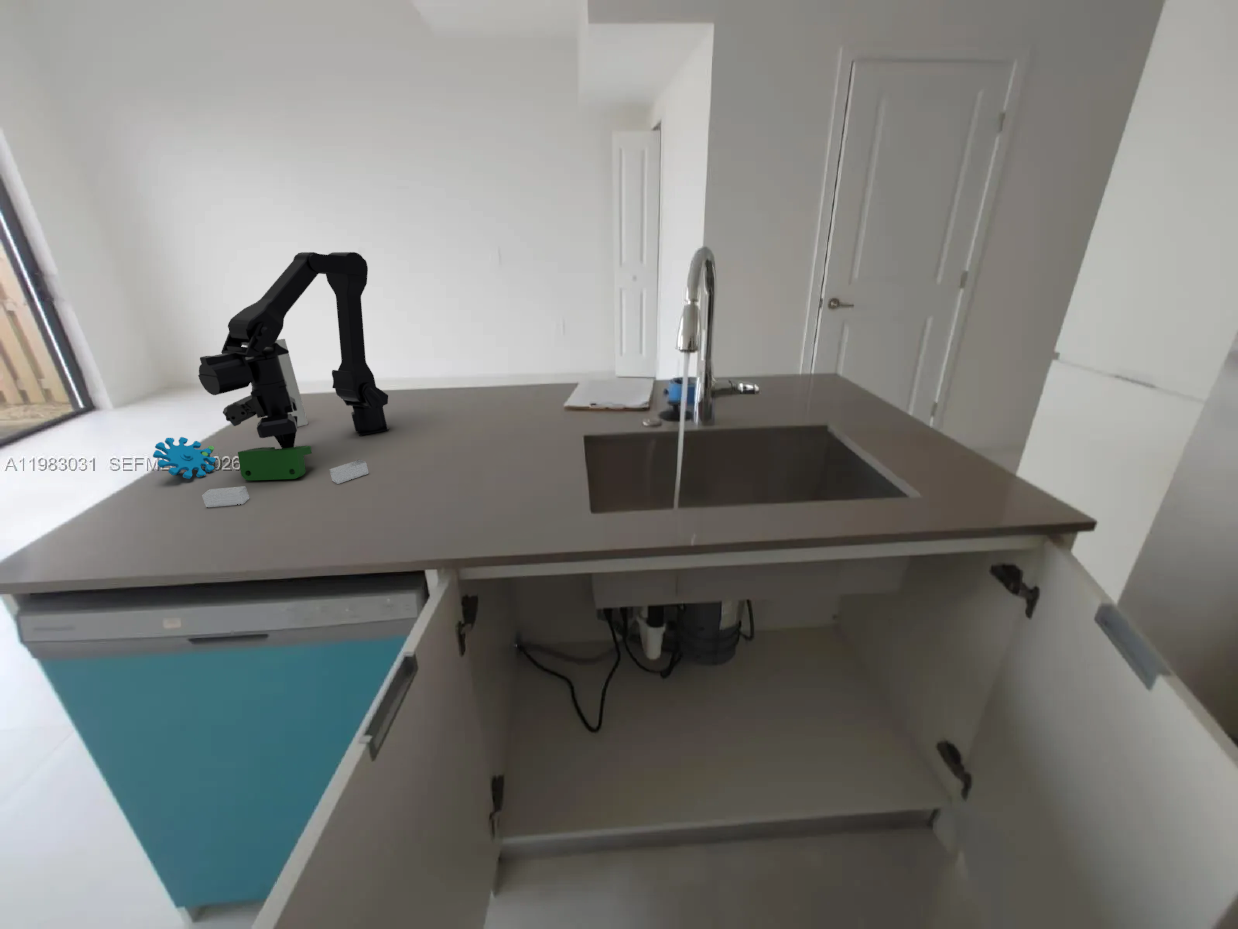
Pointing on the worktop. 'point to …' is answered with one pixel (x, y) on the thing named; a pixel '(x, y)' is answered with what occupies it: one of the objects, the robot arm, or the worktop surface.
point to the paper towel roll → (292, 385)
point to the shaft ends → (241, 495)
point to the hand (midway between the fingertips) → (289, 455)
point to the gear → (184, 457)
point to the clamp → (273, 463)
